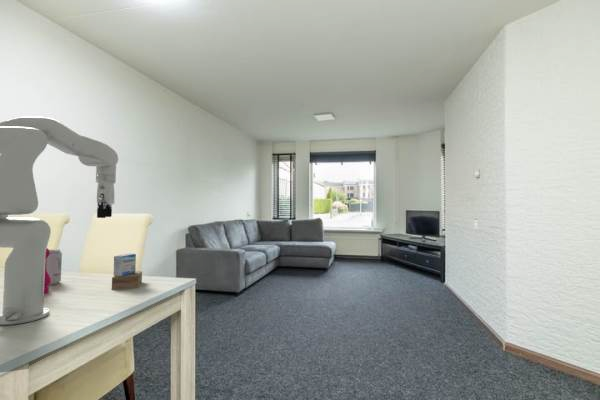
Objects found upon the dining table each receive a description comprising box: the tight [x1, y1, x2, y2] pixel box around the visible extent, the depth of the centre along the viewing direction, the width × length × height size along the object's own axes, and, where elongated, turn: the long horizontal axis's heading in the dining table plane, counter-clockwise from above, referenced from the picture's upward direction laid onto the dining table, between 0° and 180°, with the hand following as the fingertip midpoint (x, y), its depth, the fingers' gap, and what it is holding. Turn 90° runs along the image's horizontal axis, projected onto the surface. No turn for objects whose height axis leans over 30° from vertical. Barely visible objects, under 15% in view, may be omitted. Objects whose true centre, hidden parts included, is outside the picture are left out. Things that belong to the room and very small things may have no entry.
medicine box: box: [113, 253, 137, 277], centre depth 133 cm, size 8×4×9 cm, turn 165°
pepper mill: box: [44, 247, 51, 295], centre depth 121 cm, size 7×7×20 cm
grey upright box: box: [46, 248, 63, 286], centre depth 134 cm, size 6×6×15 cm
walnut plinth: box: [111, 270, 143, 291], centre depth 134 cm, size 10×10×5 cm
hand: (104, 217), depth 135 cm, fingers open, 9 cm apart
